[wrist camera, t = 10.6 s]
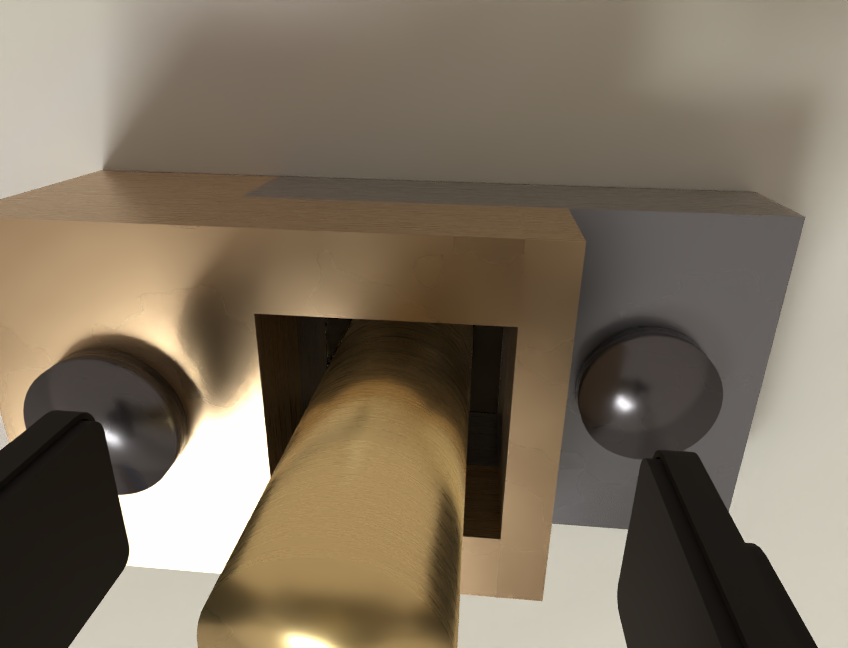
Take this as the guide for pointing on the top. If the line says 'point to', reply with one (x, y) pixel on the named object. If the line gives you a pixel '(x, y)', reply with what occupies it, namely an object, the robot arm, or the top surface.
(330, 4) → the top surface
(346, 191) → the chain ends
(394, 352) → the pin
